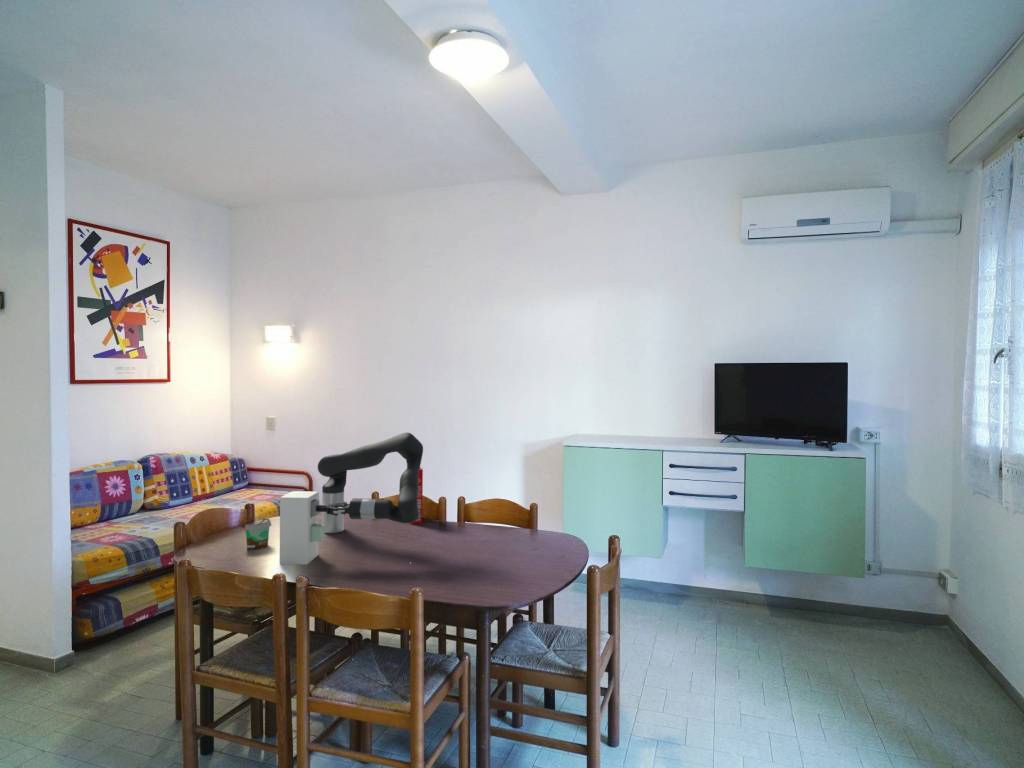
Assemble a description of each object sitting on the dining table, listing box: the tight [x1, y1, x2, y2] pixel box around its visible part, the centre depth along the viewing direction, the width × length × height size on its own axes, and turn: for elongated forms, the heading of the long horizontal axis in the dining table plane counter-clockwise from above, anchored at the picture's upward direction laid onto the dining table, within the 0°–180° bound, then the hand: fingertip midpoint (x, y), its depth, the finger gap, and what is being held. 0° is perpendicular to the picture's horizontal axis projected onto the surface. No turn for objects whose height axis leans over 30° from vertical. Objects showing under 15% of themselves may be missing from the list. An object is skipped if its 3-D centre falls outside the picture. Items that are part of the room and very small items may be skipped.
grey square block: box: [311, 499, 320, 517], centre depth 224 cm, size 5×6×5 cm
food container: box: [244, 517, 272, 551], centre depth 241 cm, size 12×6×10 cm, turn 168°
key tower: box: [279, 490, 320, 565], centre depth 225 cm, size 12×10×24 cm
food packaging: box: [409, 466, 424, 525], centre depth 289 cm, size 15×5×25 cm, turn 17°
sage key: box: [310, 523, 326, 542], centre depth 224 cm, size 5×6×5 cm
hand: (317, 508), depth 224 cm, fingers closed
